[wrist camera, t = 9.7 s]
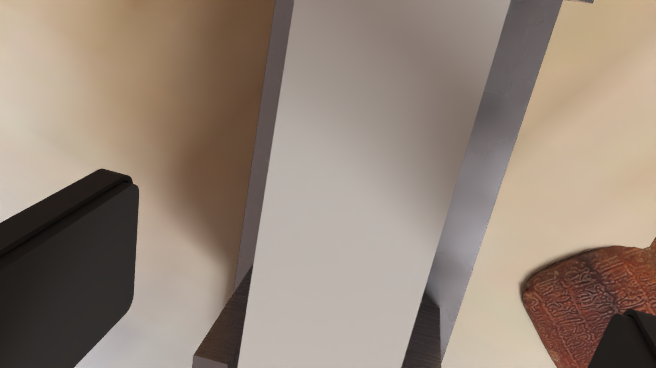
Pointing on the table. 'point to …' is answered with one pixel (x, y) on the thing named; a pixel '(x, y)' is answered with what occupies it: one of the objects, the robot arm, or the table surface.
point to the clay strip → (362, 175)
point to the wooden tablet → (588, 298)
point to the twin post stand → (466, 204)
